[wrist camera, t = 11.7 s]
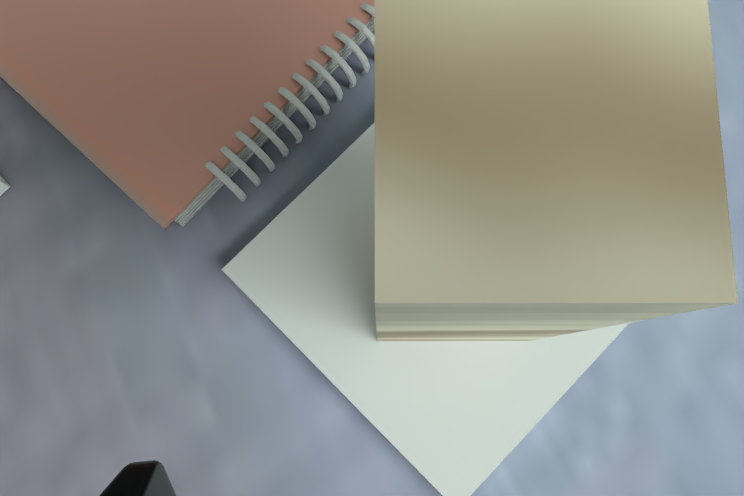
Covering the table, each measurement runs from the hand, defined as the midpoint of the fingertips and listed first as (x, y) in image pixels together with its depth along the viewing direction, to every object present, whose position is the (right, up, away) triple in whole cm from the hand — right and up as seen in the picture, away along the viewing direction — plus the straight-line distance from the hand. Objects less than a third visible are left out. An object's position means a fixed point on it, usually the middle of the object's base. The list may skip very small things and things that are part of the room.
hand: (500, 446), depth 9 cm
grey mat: (+1, +2, +14) cm, 14 cm away
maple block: (+1, +2, +14) cm, 14 cm away
